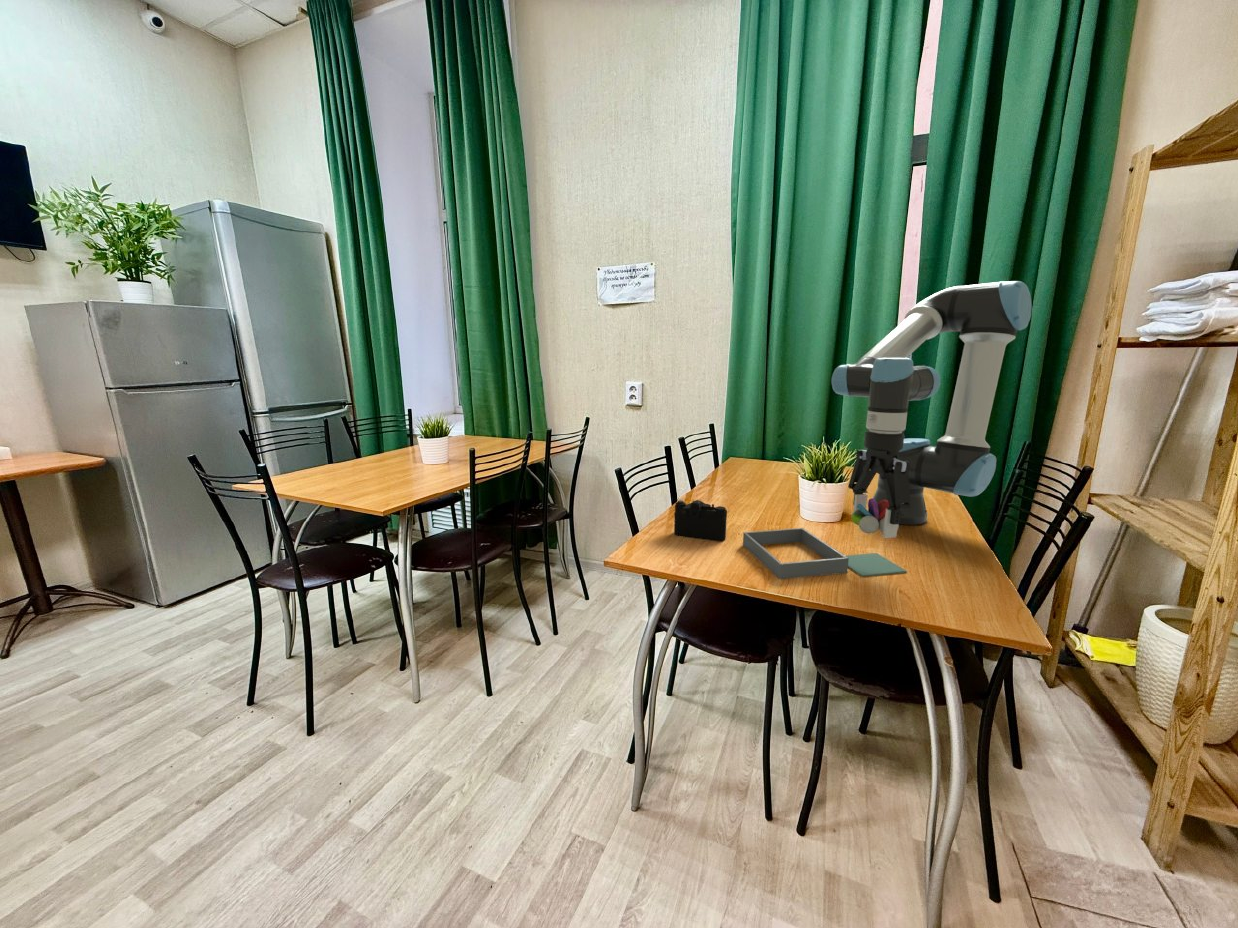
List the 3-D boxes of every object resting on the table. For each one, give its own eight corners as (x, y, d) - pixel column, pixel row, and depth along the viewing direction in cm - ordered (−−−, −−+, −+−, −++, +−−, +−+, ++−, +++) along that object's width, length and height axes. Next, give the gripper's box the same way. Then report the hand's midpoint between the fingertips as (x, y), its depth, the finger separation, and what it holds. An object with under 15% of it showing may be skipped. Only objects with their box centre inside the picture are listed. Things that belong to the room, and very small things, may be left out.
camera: (731, 530, 135) (733, 495, 133) (723, 543, 126) (724, 507, 123) (683, 523, 141) (683, 490, 138) (671, 536, 131) (672, 500, 129)
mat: (876, 554, 118) (876, 552, 118) (906, 572, 108) (906, 570, 108) (834, 558, 116) (834, 556, 116) (861, 576, 106) (862, 575, 106)
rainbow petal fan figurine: (904, 537, 105) (908, 505, 104) (856, 535, 107) (859, 503, 105) (890, 524, 113) (894, 494, 112) (845, 522, 115) (848, 492, 113)
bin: (801, 540, 127) (802, 527, 126) (847, 572, 108) (848, 558, 108) (742, 545, 124) (743, 532, 123) (779, 579, 106) (780, 564, 105)
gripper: (837, 424, 115) (829, 513, 120) (907, 440, 94) (893, 549, 99) (866, 423, 116) (856, 512, 121) (941, 439, 95) (926, 546, 100)
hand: (873, 528), depth 110 cm, fingers closed on rainbow petal fan figurine, 10 cm apart
